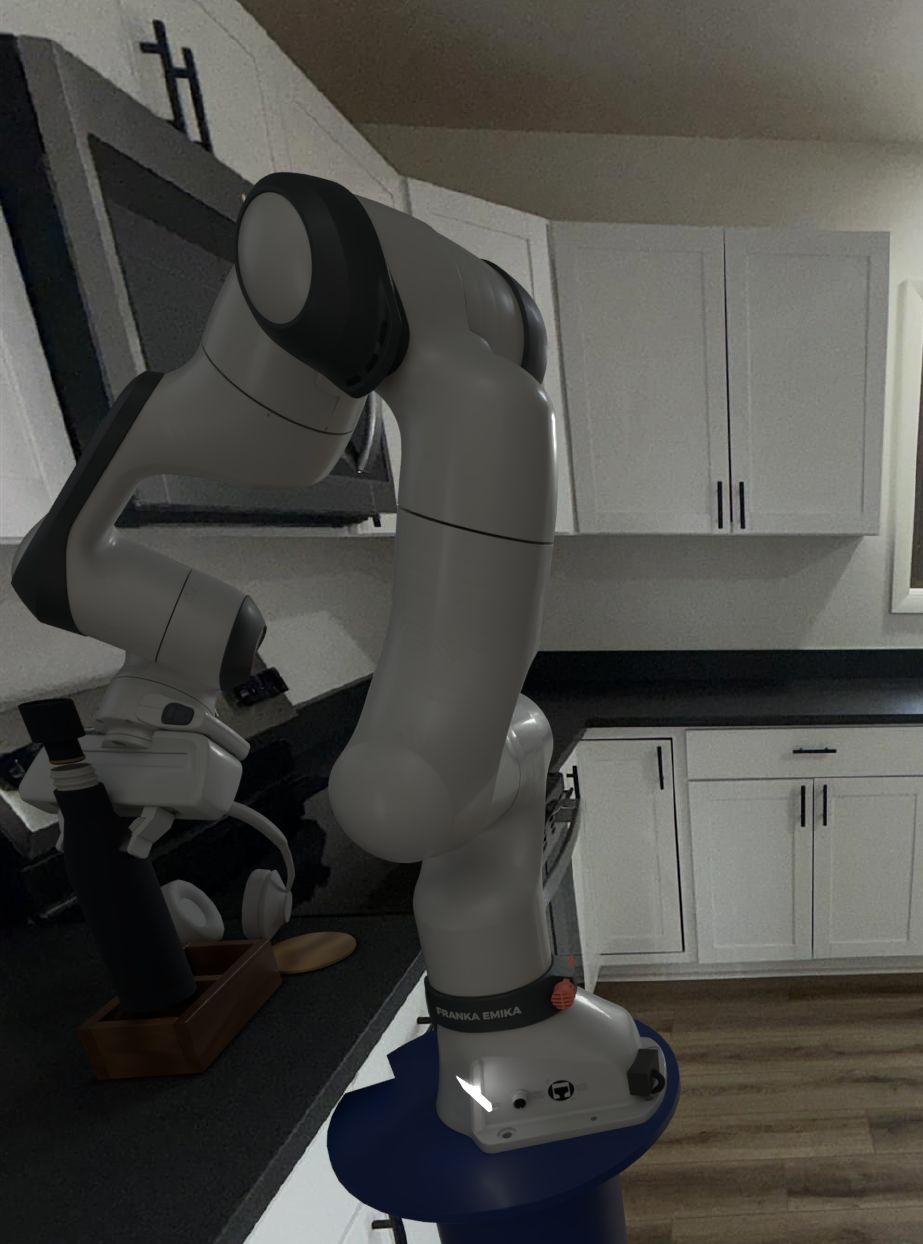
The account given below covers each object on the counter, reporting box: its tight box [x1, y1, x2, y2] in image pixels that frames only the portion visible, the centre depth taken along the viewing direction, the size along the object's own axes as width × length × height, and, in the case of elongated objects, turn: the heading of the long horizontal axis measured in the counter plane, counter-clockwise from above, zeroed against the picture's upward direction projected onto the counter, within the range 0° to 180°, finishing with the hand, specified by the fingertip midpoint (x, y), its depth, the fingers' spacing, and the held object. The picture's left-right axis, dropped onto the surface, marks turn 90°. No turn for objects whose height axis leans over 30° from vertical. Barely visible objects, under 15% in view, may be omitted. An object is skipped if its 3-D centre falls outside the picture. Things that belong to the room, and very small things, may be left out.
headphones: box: [128, 800, 296, 943], centre depth 108 cm, size 19×9×20 cm, turn 108°
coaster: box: [272, 931, 357, 975], centre depth 110 cm, size 11×11×1 cm
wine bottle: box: [17, 697, 197, 1013], centre depth 81 cm, size 6×6×30 cm
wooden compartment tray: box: [76, 938, 283, 1081], centre depth 93 cm, size 10×19×6 cm, turn 7°
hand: (100, 854), depth 80 cm, fingers closed on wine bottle, 5 cm apart
